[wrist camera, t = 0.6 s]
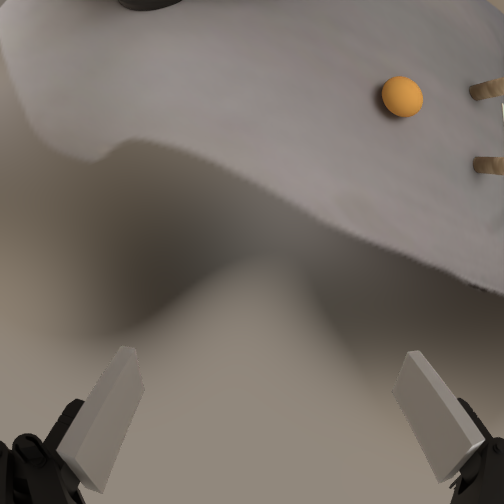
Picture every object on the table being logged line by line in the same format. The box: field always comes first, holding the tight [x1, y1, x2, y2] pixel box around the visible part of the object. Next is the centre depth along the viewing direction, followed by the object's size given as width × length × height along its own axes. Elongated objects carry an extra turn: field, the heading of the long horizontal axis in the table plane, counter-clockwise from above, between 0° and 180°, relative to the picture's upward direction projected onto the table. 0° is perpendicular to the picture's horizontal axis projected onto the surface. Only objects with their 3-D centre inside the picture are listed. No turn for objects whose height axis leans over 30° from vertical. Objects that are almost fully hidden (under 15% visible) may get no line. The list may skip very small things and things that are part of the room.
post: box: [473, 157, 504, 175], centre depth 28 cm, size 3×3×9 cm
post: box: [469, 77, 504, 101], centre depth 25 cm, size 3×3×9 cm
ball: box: [382, 76, 423, 117], centre depth 28 cm, size 6×6×6 cm
